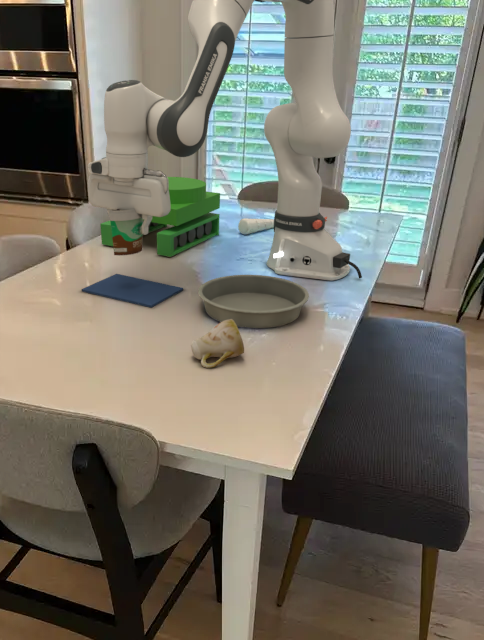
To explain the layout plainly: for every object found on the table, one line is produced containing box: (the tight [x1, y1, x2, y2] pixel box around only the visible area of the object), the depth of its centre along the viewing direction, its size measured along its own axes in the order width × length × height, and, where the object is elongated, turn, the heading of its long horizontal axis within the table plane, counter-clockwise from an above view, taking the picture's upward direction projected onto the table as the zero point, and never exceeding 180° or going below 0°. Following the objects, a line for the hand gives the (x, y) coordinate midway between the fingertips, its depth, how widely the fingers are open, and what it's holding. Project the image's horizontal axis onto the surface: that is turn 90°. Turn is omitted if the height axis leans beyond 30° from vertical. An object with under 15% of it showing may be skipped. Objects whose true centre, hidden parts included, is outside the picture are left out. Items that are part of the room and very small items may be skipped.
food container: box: [108, 209, 144, 256], centre depth 138 cm, size 12×6×10 cm, turn 168°
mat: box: [81, 273, 184, 309], centre depth 145 cm, size 20×14×1 cm
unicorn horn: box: [237, 217, 274, 235], centre depth 197 cm, size 5×24×5 cm, turn 130°
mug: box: [190, 319, 245, 369], centre depth 114 cm, size 8×10×10 cm
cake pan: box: [197, 274, 310, 329], centre depth 135 cm, size 25×25×4 cm
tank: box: [100, 176, 221, 258], centre depth 178 cm, size 24×35×16 cm
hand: (130, 231), depth 138 cm, fingers closed on food container, 6 cm apart
